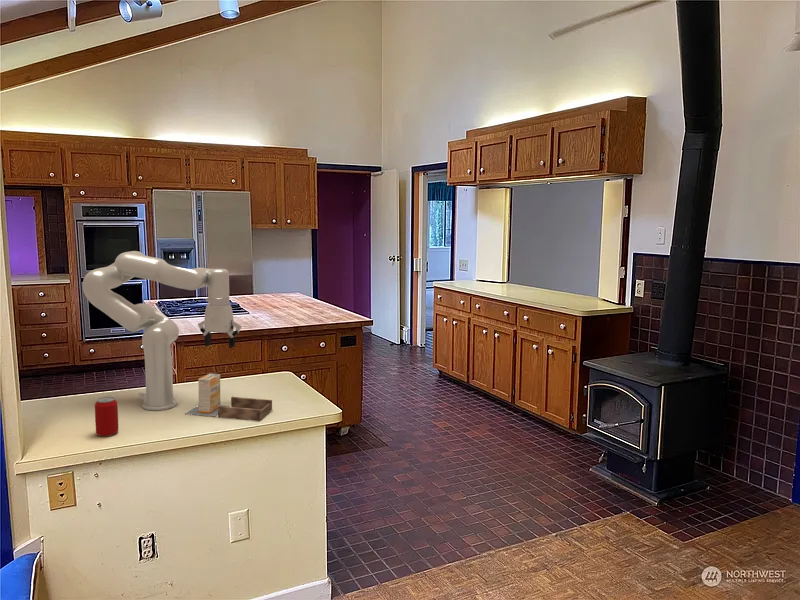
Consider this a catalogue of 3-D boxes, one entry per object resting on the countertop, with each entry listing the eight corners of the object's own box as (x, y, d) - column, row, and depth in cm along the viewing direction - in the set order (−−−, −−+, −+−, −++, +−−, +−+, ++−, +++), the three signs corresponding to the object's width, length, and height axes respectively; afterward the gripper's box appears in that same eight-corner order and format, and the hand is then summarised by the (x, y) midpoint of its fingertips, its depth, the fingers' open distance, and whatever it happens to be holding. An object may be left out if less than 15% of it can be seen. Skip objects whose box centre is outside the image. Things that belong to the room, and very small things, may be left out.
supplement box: (210, 414, 215) (209, 379, 214) (198, 412, 216) (197, 378, 214) (221, 406, 224) (220, 373, 222) (209, 405, 224) (209, 372, 222)
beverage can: (122, 430, 198) (120, 396, 196) (113, 437, 192) (111, 402, 190) (101, 429, 198) (100, 395, 196) (92, 437, 191) (90, 402, 190)
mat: (184, 414, 215) (184, 413, 215) (200, 404, 227) (200, 403, 227) (215, 417, 213) (215, 416, 213) (229, 406, 225) (229, 405, 225)
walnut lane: (218, 417, 213) (217, 406, 213) (232, 406, 225) (232, 396, 224) (259, 420, 211) (259, 410, 210) (272, 410, 223) (272, 400, 222)
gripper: (192, 301, 217) (193, 347, 220) (235, 304, 214) (236, 350, 216) (203, 299, 224) (204, 342, 227) (245, 301, 221) (245, 345, 223)
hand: (220, 346), depth 222 cm, fingers open, 9 cm apart
